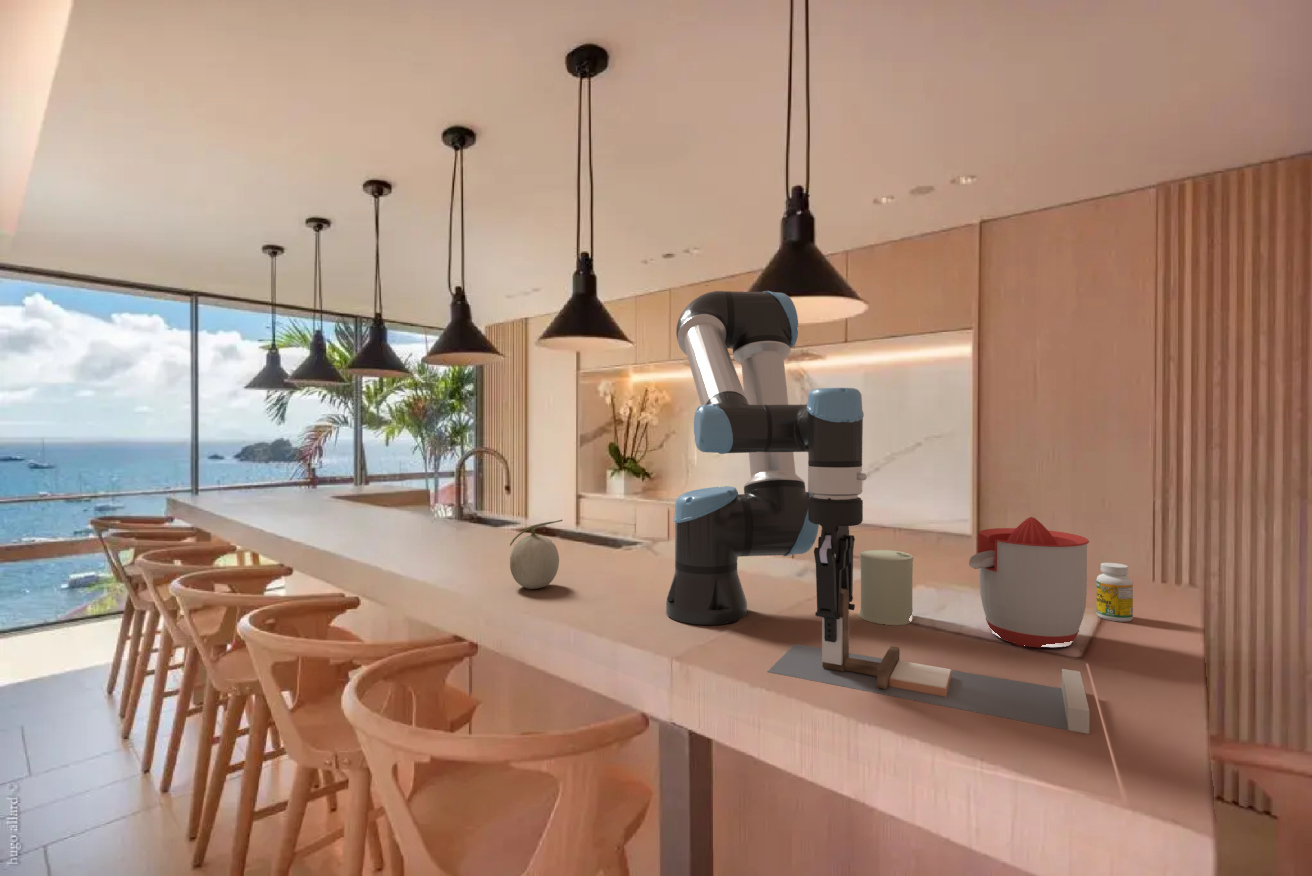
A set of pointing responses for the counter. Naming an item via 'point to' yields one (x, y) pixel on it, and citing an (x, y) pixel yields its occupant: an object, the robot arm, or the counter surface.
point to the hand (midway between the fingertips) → (835, 658)
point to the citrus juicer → (1032, 583)
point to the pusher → (858, 665)
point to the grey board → (960, 691)
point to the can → (886, 587)
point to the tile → (921, 678)
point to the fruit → (534, 559)
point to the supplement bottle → (1114, 593)
